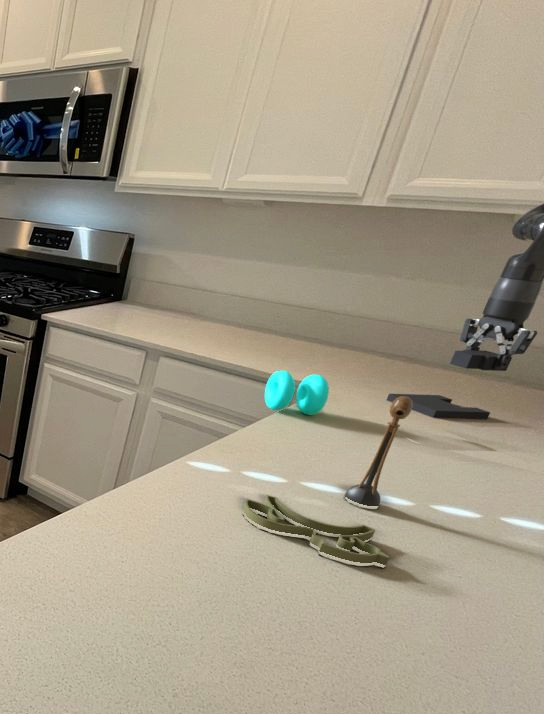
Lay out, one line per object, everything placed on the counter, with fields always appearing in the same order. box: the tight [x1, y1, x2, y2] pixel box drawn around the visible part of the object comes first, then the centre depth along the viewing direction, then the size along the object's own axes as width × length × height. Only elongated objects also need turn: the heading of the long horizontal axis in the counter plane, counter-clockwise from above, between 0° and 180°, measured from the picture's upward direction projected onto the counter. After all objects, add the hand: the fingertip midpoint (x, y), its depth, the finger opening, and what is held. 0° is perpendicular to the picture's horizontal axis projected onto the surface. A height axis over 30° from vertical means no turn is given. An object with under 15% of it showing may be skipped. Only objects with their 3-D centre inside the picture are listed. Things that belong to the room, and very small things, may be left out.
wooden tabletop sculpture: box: [344, 396, 413, 507], centre depth 98 cm, size 6×5×20 cm
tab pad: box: [449, 349, 513, 372], centre depth 145 cm, size 9×6×4 cm, turn 92°
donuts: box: [264, 369, 330, 416], centre depth 144 cm, size 10×10×10 cm
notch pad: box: [386, 393, 491, 420], centre depth 147 cm, size 14×12×4 cm
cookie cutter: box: [243, 494, 390, 566], centre depth 91 cm, size 18×12×2 cm, turn 46°
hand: (482, 364), depth 146 cm, fingers closed on tab pad, 6 cm apart
